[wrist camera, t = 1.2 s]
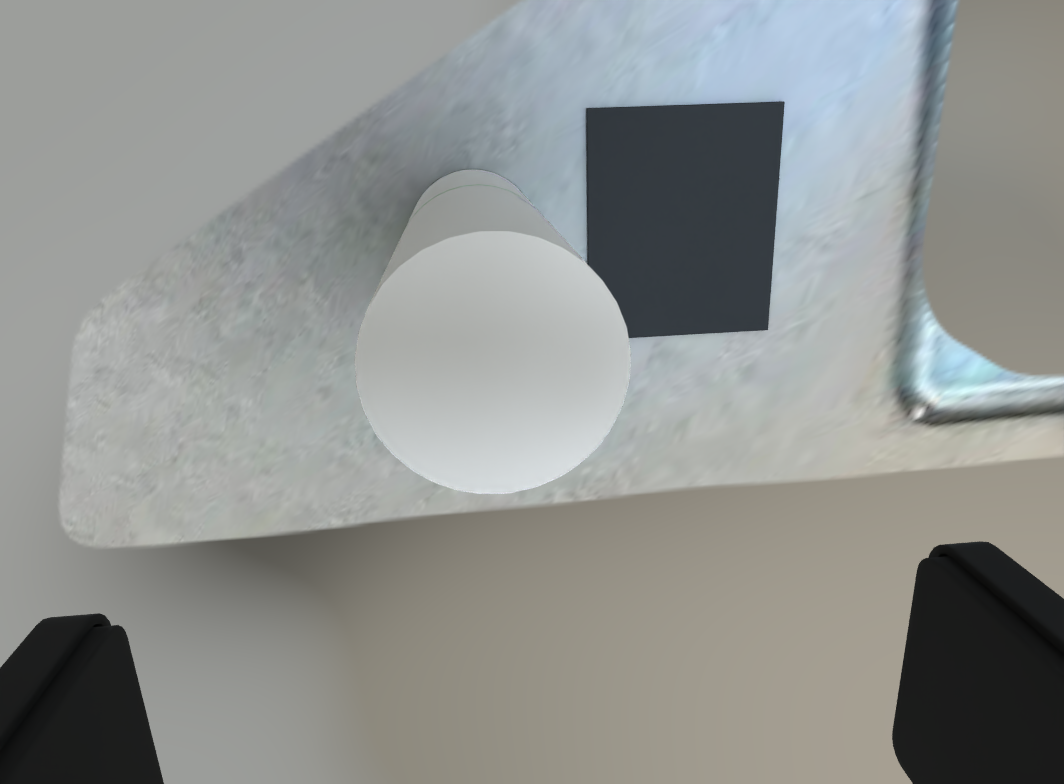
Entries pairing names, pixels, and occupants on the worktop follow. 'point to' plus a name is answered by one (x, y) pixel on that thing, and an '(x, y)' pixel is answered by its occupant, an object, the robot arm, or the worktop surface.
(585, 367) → the cylindrical container
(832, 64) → the worktop surface
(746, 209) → the mat
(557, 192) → the worktop surface
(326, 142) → the worktop surface
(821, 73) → the worktop surface
